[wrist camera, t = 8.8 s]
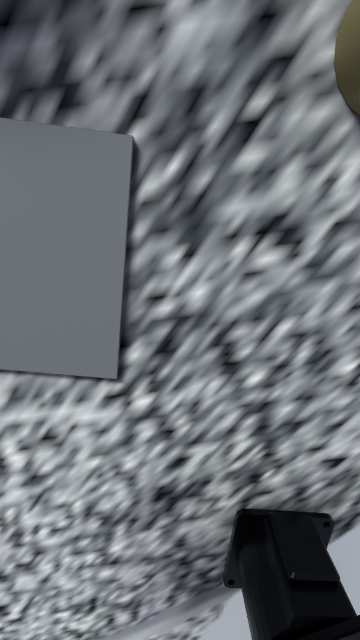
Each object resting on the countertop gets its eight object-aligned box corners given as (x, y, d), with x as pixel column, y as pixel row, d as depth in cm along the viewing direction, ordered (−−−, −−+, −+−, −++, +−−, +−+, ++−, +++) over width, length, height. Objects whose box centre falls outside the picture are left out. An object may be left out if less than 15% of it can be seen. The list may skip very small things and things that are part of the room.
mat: (117, 374, 19) (116, 378, 18) (-30, 361, 18) (-36, 366, 18) (133, 138, 16) (132, 135, 15) (-47, 114, 15) (-55, 110, 14)
